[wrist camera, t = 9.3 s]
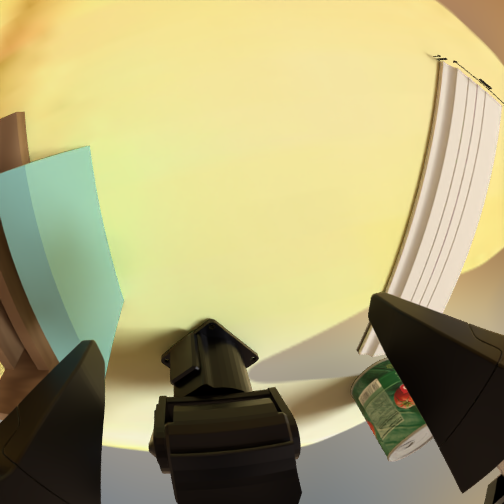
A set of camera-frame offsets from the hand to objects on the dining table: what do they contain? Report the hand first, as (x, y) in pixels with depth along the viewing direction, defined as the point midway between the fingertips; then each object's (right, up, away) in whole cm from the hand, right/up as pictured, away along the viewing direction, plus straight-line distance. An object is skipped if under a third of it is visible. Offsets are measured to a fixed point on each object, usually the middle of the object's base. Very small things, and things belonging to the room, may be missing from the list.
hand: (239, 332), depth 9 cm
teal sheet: (-11, +4, +10) cm, 16 cm away
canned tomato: (+16, -14, +25) cm, 33 cm away
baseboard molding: (+19, +5, +17) cm, 26 cm away
